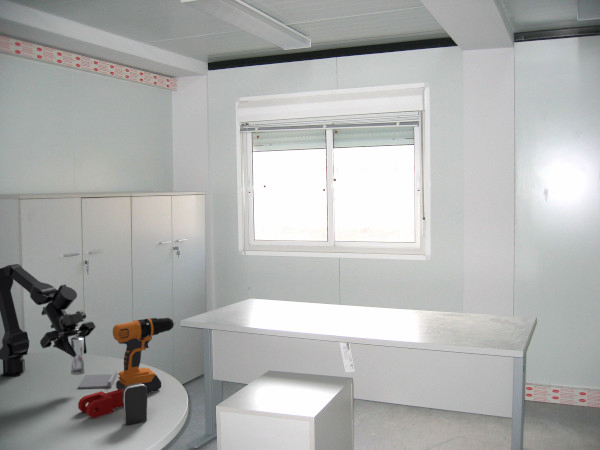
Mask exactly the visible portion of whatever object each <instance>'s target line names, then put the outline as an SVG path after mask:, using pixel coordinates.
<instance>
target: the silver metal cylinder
mask: <svg viewBox="0 0 600 450" xmlns="http://www.w3.org/2000/svg"><path fill="white" fill-rule="evenodd" d="M70 345H71V346H72V348H73V350H74V352H75V354H76V356H75V357H72V356H71V355H70V356H71V358H70V359H71V361H70V362H71V365H70V366H71V370H70V374H71V375H72V376H80V375H83V374H85V373H86V372H85V354H84V337H74V336H73V337H71V338H70Z"/></svg>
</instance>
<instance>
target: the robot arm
mask: <svg viewBox="0 0 600 450" xmlns="http://www.w3.org/2000/svg"><path fill="white" fill-rule="evenodd" d="M14 281H15V282H16V283H17V284H18V285H20V287H22V288H23V289H25V290H26V291H27V292H28V294H29V298H30V299H31V300H32V301H33V302H34V304H36V305H37V306H42V305H46V304H47V305H46V306H43V307H42V311H41V316H47V318H48V319H49V322H50V323H51V324H50V328H51V329H54V330H52V331H48V332H46V333H45V334H44V335H43V337H42V338H41V339H40V341H39V342H40V343H39V345H40V346H41V348H42V349H46V348H50V347H51V346H52V347H53V348H56V349H58V350H61V351H62V352H65V353H66V354H68V355H69V356H72V357H75V356H76V354H75V352H74V350H73V348H72V346H71V342H70V341H69V338H70V337H72V336H73V337H84V355H86V354H87V353H88V352H87V344H86V337H89V335H90V334H92V332H93V331H94V330H95V329H96V328H97V326H96V324H95V323H94V322H93V321H86V322H84V320H85V319H86V318H87V315H86V312H85V311H84V310H83V309H80V310H78V311H76V312H75V313H72V314H71V313H67V311H66V310H68V309H69V307H70V306H71V305H72V304H73V303H74V302H75V300H76V299H77V297H78V294H77V291H76V290H75V289H73V288H72V287H69V286H67V285H66V284H61V285H59V287H58V288H56V287H55V286H53V285H51V284H49V283H46V282H42V281H39V280H38V279H37V278H36V277H34V275H32V274H30V273H29V272H28V271H27V270H25V268H23V267H22V265H21V264H18V263H14V264H7V265H5V266H4V267H0V317H1V321H2V325H3V330H4V334H3V337H2V340H1V344H2V346H1V347H0V360H1V361H2V374H0V375H1V377H9V376H13V377H15V376H22V374H23V373H24V372H25V371H26V360H25V359H24V356H26V355H28V353H29V348H30V339H29V336H28V335H29V334H28V332H27V331H23V329H21V327H20V325H19V320H18V319H19V318H18V316H17V312H16V307H15V303H14V299H13V294H12V287H13V285H14ZM79 323H82V324H81V325H80V326H79ZM78 326H79V327H78ZM77 327H78V328H77ZM52 342H53V343H54V344H53V345H52Z"/></svg>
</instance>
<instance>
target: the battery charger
mask: <svg viewBox="0 0 600 450" xmlns="http://www.w3.org/2000/svg"><path fill="white" fill-rule="evenodd" d="M122 403H123V404H124V406H123V424H124V425H126V426H129V425H134V424H138V423H143V422H145V421H147V420H148V393H147V388H146V386H145V385H143V384H142V383H136V384H131V385H127V386H125V387H124V388H123V391H122Z"/></svg>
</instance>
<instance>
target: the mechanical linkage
mask: <svg viewBox="0 0 600 450" xmlns="http://www.w3.org/2000/svg"><path fill="white" fill-rule="evenodd" d="M122 391H123V389H119V390H118V389H116V390H112V391H109V392H105V391H102V390H101V391H98V392H95V393H91V394H87V395H84V396H82V397H81V398H80V399H79V401H78V403H77V407H78V410H79V411H80V412H82V413H84V414H86V415H87V416H88V417H90V418H92V419H96V418H99V417H103V416H105V415H108V414H112V413H114V410H115V409H118V408H121V407H124V404H123V403H122ZM117 407H118V408H117Z"/></svg>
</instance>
